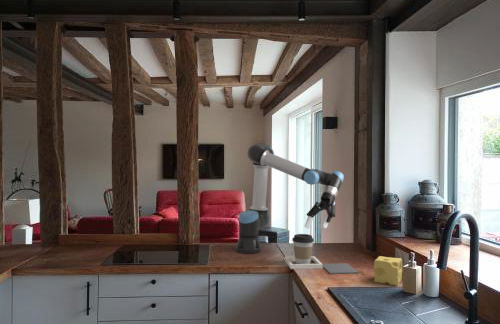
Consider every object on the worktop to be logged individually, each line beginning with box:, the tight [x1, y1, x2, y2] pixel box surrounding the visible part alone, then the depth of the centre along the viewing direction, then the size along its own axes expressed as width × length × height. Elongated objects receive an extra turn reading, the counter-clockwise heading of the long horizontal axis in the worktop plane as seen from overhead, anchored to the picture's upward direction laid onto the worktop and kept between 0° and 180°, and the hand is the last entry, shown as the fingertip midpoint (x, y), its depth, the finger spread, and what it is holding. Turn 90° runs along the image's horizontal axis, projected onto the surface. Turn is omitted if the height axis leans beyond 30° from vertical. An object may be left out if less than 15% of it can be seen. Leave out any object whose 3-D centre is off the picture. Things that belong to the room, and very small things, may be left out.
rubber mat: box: [322, 262, 359, 275], centre depth 186 cm, size 16×14×1 cm
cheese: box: [373, 255, 403, 287], centre depth 168 cm, size 10×11×10 cm
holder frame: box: [284, 255, 324, 270], centre depth 195 cm, size 16×16×2 cm
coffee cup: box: [292, 233, 315, 264], centre depth 195 cm, size 11×11×15 cm
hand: (315, 227), depth 202 cm, fingers open, 13 cm apart
